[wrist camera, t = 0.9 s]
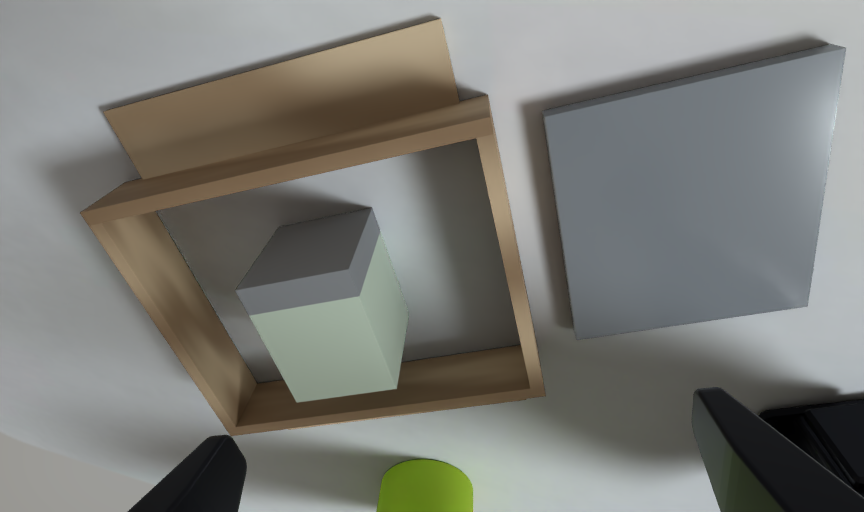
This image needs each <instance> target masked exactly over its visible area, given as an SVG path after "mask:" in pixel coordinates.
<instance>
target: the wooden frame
mask: <svg viewBox="0 0 864 512" xmlns="http://www.w3.org/2000/svg"><path fill="white" fill-rule="evenodd" d="M103 113H104V114H105V116H106V118H107V119H108V121H109V123H110V125H111V126H112V128H113V130H114V131H115V133H116V135H117V137H118V138H119V140H120V142H121V143H122V145H123V147H124V149H125V150H126V152H127V154H128V155H129V157H130V159H131V161H132V162H133V164H134V166H135V167H136V169H137V171H138V173H139V174H140V176H141V179H137V180H133V181H129V182H125V183H123V184H122V185H120V186H119V187H117V188H116V189H114V190H113V191H111V192H110V193H109V194H107V195H106V196H104V197H103V198H101V199H100V200H98V201H97V202H95V203H94V204H92V205H91V206H89V207H88V208H86V209H85V210H83V211H82V212H80V214H81V215H82V217H83V218H84V220H85V221H86V222H87V224H88V225H89V227H90V228H91V230H92V231H93V233H94V234H95V236H96V237H97V239H98V240H99V242H100V243H101V245H102V246H103V248H104V249H105V251H106V252H107V254H108V255H109V257H110V258H111V259H112V261H113V262H114V264H115V265H116V267H117V268H118V270H119V271H120V273H121V274H122V276H123V277H124V279H125V280H126V282H127V283H128V285H129V286H130V288H131V289H132V291H133V292H134V294H135V295H136V296H137V298H138V299H139V301H140V302H141V304H142V305H143V307H144V308H145V310H146V311H147V313H148V314H149V316H150V317H151V319H152V320H153V322H154V323H155V325H156V326H157V328H158V329H159V331H160V332H161V334H162V335H163V336H164V338H165V339H166V341H167V342H168V344H169V345H170V347H171V348H172V350H173V351H174V353H175V354H176V356H177V357H178V359H179V360H180V362H181V363H182V365H183V366H184V368H185V369H186V371H187V372H188V373H189V375H190V376H191V378H192V379H193V381H194V382H195V384H196V385H197V387H198V388H199V390H200V391H201V393H202V394H203V396H204V397H205V399H206V400H207V402H208V403H209V405H210V406H211V408H212V409H213V411H214V412H215V413H216V415H217V416H218V418H219V419H220V421H221V422H222V424H223V425H224V427H225V428H226V430H227V431H228V433H229V434H230V436H235V435H243V434H251V433H259V432H267V431H275V430H283V429H289V430H291V429H299V428H306V427H314V426H322V425H330V424H338V423H346V422H354V421H362V420H370V419H378V418H385V417H393V416H401V415H409V414H417V413H425V412H433V411H441V410H449V409H457V408H464V407H472V406H480V405H488V404H496V403H504V402H512V401H520V400H526V399H527V398H535V397H542V396H546V395H545V389H544V383H543V377H542V371H541V365H540V359H539V353H538V348H537V343H536V337H535V332H534V327H533V322H532V317H531V312H530V307H529V302H528V297H527V292H526V286H525V281H524V276H523V271H522V266H521V261H520V256H519V251H518V246H517V241H516V235H515V230H514V225H513V220H512V215H511V210H510V205H509V200H508V195H507V190H506V185H505V179H504V174H503V169H502V164H501V159H500V154H499V149H498V144H497V139H496V134H495V128H494V123H493V118H492V113H491V108H490V103H489V98H488V95H484V96H479V97H475V98H471V99H467V100H463V101H459V96H458V92H457V87H456V83H455V78H454V74H453V70H452V65H451V61H450V56H449V52H448V47H447V43H446V39H445V34H444V30H443V25H442V21H441V18H440V19H436V20H432V21H429V22H425V23H422V24H418V25H414V26H411V27H407V28H403V29H400V30H396V31H392V32H389V33H385V34H382V35H378V36H374V37H371V38H367V39H363V40H360V41H356V42H353V43H349V44H345V45H342V46H338V47H334V48H331V49H327V50H324V51H320V52H316V53H313V54H309V55H305V56H302V57H298V58H294V59H291V60H287V61H284V62H280V63H276V64H273V65H269V66H265V67H262V68H258V69H255V70H251V71H247V72H244V73H240V74H236V75H233V76H229V77H226V78H222V79H218V80H215V81H211V82H207V83H204V84H200V85H196V86H193V87H189V88H186V89H182V90H178V91H175V92H171V93H167V94H164V95H160V96H157V97H153V98H149V99H146V100H142V101H138V102H135V103H131V104H128V105H124V106H120V107H117V108H113V109H109V110H106V111H104V112H103ZM475 138H476V139H477V144H478V148H479V153H480V158H481V162H482V167H483V171H484V176H485V181H486V185H487V190H488V195H489V199H490V204H491V208H492V213H493V218H494V222H495V227H496V231H497V236H498V241H499V245H500V250H501V254H502V259H503V264H504V268H505V273H506V278H507V282H508V287H509V291H510V296H511V301H512V305H513V310H514V314H515V319H516V324H517V328H518V333H519V338H520V342H521V345H517V346H511V347H504V348H497V349H490V350H483V351H477V352H470V353H463V354H456V355H449V356H443V357H436V358H429V359H422V360H415V361H409V362H402V363H401V366H400V372H399V378H398V384H397V389H392V390H385V391H377V392H370V393H363V394H356V395H349V396H341V397H334V398H327V399H320V400H312V401H305V402H298V403H297V402H296V400H295V399H294V397H293V395H292V393H291V391H290V390H289V388H288V386H287V384H286V382H285V380H279V381H272V382H266V383H259V384H257V382H256V381H255V379H254V377H253V376H252V374H251V372H250V370H249V369H248V367H247V365H246V364H245V362H244V360H243V359H242V357H241V355H240V354H239V352H238V350H237V348H236V347H235V345H234V343H233V342H232V340H231V338H230V337H229V335H228V333H227V332H226V330H225V328H224V326H223V325H222V323H221V321H220V320H219V318H218V316H217V315H216V313H215V311H214V310H213V308H212V306H211V304H210V303H209V301H208V299H207V298H206V296H205V294H204V293H203V291H202V289H201V288H200V286H199V284H198V282H197V281H196V279H195V277H194V276H193V274H192V272H191V271H190V269H189V267H188V265H187V264H186V262H185V260H184V259H183V257H182V255H181V254H180V252H179V250H178V249H177V247H176V245H175V243H174V242H173V240H172V238H171V237H170V235H169V233H168V232H167V230H166V228H165V227H164V225H163V223H162V221H161V220H160V218H159V216H158V215H157V213H156V211H157V210H162V209H166V208H171V207H175V206H180V205H184V204H188V203H193V202H197V201H202V200H206V199H210V198H215V197H219V196H224V195H228V194H232V193H237V192H241V191H246V190H250V189H254V188H259V187H263V186H268V185H272V184H276V183H281V182H285V181H290V180H294V179H299V178H303V177H307V176H312V175H316V174H321V173H325V172H329V171H334V170H338V169H343V168H347V167H351V166H356V165H360V164H365V163H369V162H373V161H378V160H382V159H387V158H391V157H395V156H400V155H404V154H409V153H413V152H417V151H422V150H426V149H431V148H435V147H440V146H444V145H448V144H453V143H457V142H462V141H466V140H470V139H475Z"/></svg>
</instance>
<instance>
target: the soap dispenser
mask: <svg viewBox="0 0 864 512" xmlns="http://www.w3.org/2000/svg"><path fill="white" fill-rule="evenodd" d="M377 512H473V487H472V484H471V482H470V480H469V479H468V477H467V476H466V475H465V474H464V473H463V472H462V471H460V470H459V469H457V468H456V467H454V466H452V465H449V464H447V463H444V462H440V461H435V460H426V459H419V460H410V461H406V462H402V463H400V464H397V465H395V466H394V467H392V468H391V469H389V470H388V471H387V472H386V473H385V475H384V477H383V479H382V482H381V488H380V494H379V500H378V506H377Z"/></svg>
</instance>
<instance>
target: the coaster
mask: <svg viewBox="0 0 864 512" xmlns="http://www.w3.org/2000/svg"><path fill="white" fill-rule="evenodd" d="M845 52H846V48H844V47H841V46H837V45H833V44H830V45H825V46H821V47H817V48H812V49H808V50H804V51H799V52H795V53H791V54H787V55H782V56H778V57H774V58H769V59H765V60H761V61H756V62H752V63H748V64H743V65H739V66H735V67H730V68H726V69H722V70H717V71H713V72H709V73H704V74H700V75H696V76H691V77H687V78H683V79H678V80H674V81H670V82H665V83H661V84H657V85H653V86H648V87H644V88H640V89H635V90H631V91H627V92H622V93H618V94H614V95H609V96H605V97H601V98H596V99H592V100H588V101H583V102H579V103H575V104H570V105H566V106H562V107H557V108H553V109H549V110H544V111H542V114H543V120H544V127H545V134H546V141H547V148H548V155H549V162H550V169H551V176H552V182H553V189H554V196H555V203H556V210H557V217H558V224H559V231H560V238H561V244H562V251H563V258H564V265H565V272H566V279H567V286H568V293H569V300H570V306H571V313H572V320H573V327H574V332H575V336H576V339H577V340H581V339H588V338H595V337H602V336H608V335H615V334H622V333H629V332H636V331H643V330H650V329H657V328H663V327H670V326H677V325H684V324H691V323H698V322H705V321H711V320H718V319H725V318H732V317H739V316H746V315H753V314H759V313H766V312H773V311H780V310H787V309H794V308H801V307H807V306H808V300H809V293H810V287H811V280H812V273H813V267H814V260H815V253H816V246H817V240H818V233H819V226H820V220H821V213H822V206H823V200H824V193H825V186H826V179H827V173H828V166H829V159H830V153H831V146H832V139H833V132H834V126H835V119H836V112H837V106H838V99H839V92H840V85H841V79H842V72H843V65H844V59H845Z"/></svg>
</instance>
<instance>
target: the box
mask: <svg viewBox="0 0 864 512" xmlns="http://www.w3.org/2000/svg"><path fill="white" fill-rule="evenodd" d="M235 291H236V293H237V295H238V297H239V299H240V301H241V302H242V304H243V306H244V308H245V310H246V311H247V313H248V315H249V317H250V319H251V321H252V322H253V324H254V326H255V328H256V330H257V331H258V333H259V335H260V337H261V339H262V340H263V342H264V344H265V346H266V348H267V350H268V351H269V353H270V355H271V357H272V359H273V360H274V362H275V364H276V366H277V368H278V370H279V371H280V373H281V375H282V377H283V379H284V380H285V382H286V384H287V386H288V388H289V390H290V391H291V393H292V395H293V397H294V399H295V400H296V402H297V403H298V402H305V401H312V400H320V399H327V398H334V397H341V396H349V395H356V394H363V393H370V392H377V391H385V390H392V389H397V384H398V378H399V372H400V366H401V360H402V355H403V349H404V343H405V337H406V331H407V325H408V319H409V312H408V309H407V306H406V303H405V300H404V298H403V295H402V292H401V289H400V286H399V283H398V280H397V277H396V275H395V272H394V269H393V266H392V263H391V260H390V257H389V254H388V252H387V249H386V246H385V243H384V240H383V237H382V234H381V232H380V229H379V226H378V223H377V220H376V217H375V214H374V211H373V209H372V208H368V209H363V210H358V211H353V212H349V213H344V214H339V215H334V216H329V217H325V218H320V219H315V220H310V221H306V222H301V223H296V224H291V225H286V226H282V227H279V228H278V229H277V230H276V232H275V233H274V235H273V236H272V238H271V239H270V241H269V242H268V243H267V245H266V246H265V248H264V249H263V251H262V252H261V254H260V255H259V256H258V258H257V259H256V261H255V262H254V264H253V265H252V267H251V268H250V270H249V271H248V272H247V274H246V275H245V277H244V278H243V280H242V281H241V283H240V284H239V285H238V287H237V288H236V290H235Z"/></svg>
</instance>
